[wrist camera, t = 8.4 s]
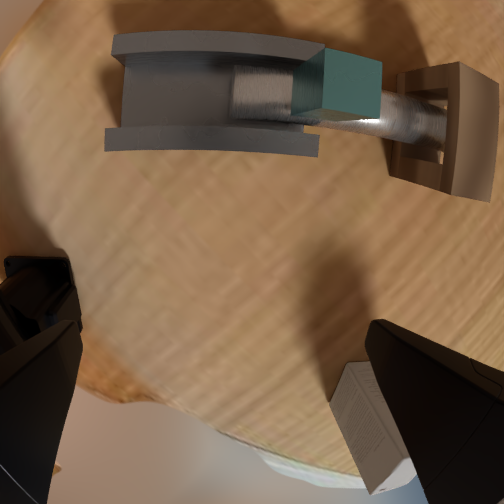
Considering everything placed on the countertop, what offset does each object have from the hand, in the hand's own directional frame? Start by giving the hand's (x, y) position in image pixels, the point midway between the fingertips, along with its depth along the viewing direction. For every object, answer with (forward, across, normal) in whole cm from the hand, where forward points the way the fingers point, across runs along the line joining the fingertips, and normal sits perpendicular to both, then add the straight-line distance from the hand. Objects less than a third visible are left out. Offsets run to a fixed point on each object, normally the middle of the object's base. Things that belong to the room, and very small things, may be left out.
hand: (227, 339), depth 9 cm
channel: (+13, 0, -8) cm, 15 cm away
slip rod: (+11, -8, -8) cm, 16 cm away
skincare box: (+13, -14, +16) cm, 25 cm away
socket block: (+13, -14, -8) cm, 21 cm away
